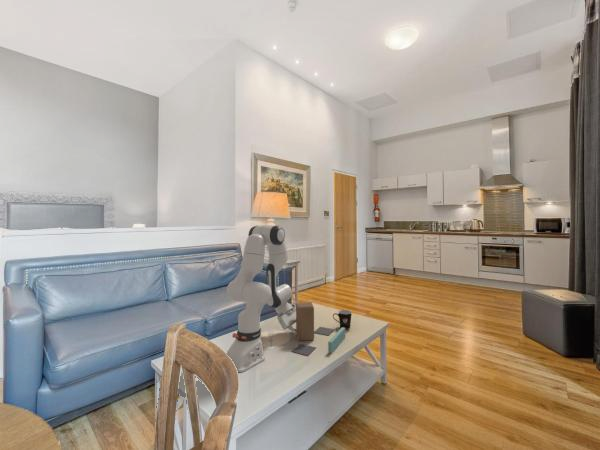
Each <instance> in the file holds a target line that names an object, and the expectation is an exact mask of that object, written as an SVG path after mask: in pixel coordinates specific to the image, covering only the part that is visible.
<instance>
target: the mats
mask: <svg viewBox="0 0 600 450" xmlns="http://www.w3.org/2000/svg"><path fill="white" fill-rule="evenodd" d="M334 331H335V329H334V328H330V327H325V326H323V327H322V326H319V327H318V328H317V329H315V330H314V334H317V335H323V336H327V337H328V336H329V337H330V335H331V334H332V333H333V332H334ZM316 349H317V347H316V346H311V345H308V344H302V343H299V344H298V345H297V346H296V347H294V348H293V349H292V350H291V352H290V353H295V354H298V355H303V356H306V357H309V356H310V355H311V354H312V353H313V352H314V351H315V350H316Z"/></svg>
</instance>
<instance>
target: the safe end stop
mask: <svg viewBox="0 0 600 450" xmlns="http://www.w3.org/2000/svg"><path fill="white" fill-rule="evenodd" d="M345 339H346V329H345V328H343V327H342V328H341V327H340V329H339V330H338V331H337V332H336V333H335V334H334V335H333V336H332V337H331V338H330V339H329V340H328V342H327V346H328V347H327V351H328V352H327V353H328V354H330V355H331V354H333V353H334V352H335V350H336V349H338V347H339V346H340V345H341V344H342V342H343V341H344V340H345ZM340 343H341V344H340Z"/></svg>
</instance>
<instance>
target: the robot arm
mask: <svg viewBox="0 0 600 450" xmlns="http://www.w3.org/2000/svg"><path fill="white" fill-rule="evenodd" d="M285 237H286V234H285V230H284V228H283V227H281V226H280V225H268V224H263V225H255V226H252V227H251V228H250V229H249V231H248V236H247V239H246V242H245V245H244V248H243V255H242V261H241V266H240V269H239V272H238V273H237V275H236V276H235V278H234V279H233V280H231V281H230V282H229V283H228V285H227V287H226V296H227V297H228V298H229V299H231V300H232V301H235V302H241V303H245V305H246V306H245V308H244V309H243V310H241V311H240V312H239V314H238V315H237V316H238V317H237V318H238V319H237V321H238V322H237V323H238V324H237V326H238V327H237V330H236V333H235V332H234V333H232V335H231V336H232V338H235V339H234V341H233V343H232V344H231V345H230V347H229V348H228V350H227V351H226V355H228V356H229V357H230V358H231V359H232V361H233V362H234V364H235V366H236V368H237V371H238V372H237V373H243V372H246V371H247V370H250V369H251V368H253V367H255V366H257V365H258V364H260V363H262V362H264V361H265V360H266V358H265V356H264V349H263V347H264V346H263V341H262V340H261V339H262V338H261V336H262V329H261V313H262V311H263V309H264V306H265V305H267V306H268V307H269V308H272V309H275V311H276V313H277V316H276V317H277V318H276V319H277V320H278V323H279V324H280V326H281V328H282V329H283V330H284V331H286V330H287V329H288V330H289V331H290V332H292V333H293V334H296V328H294V327H293V325H294V324H296V304H295V303H289V302H288V300H290V299H291V298H292V297H293V294H294V293H293V292H294V291H293V288H292V287H291V285H289V284H287V283H284V284H281V285H279V286H277V275H278V274H279V272H280V271H281V270H282V268H283V267H285V265H287V262H288V250H287V244H286V240H285ZM266 246H267V251H268V262H267V263H268V264H267V265H266V269H265V270H266V271H265V273H266V274H265V280H266V282H265V283H264V282H258V281H254V278H255V277H256V276H257V275H258V274H260V273H261V272H262V271H263V267H264V260H265V253H266V252H265V251H266Z"/></svg>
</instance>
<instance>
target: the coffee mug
mask: <svg viewBox="0 0 600 450" xmlns="http://www.w3.org/2000/svg"><path fill="white" fill-rule="evenodd" d="M337 312H338V313H337ZM337 312H336V313H333V315H332V317H333V319H334V321H336V322H338V323H339V326H340V329H341V328H342V327H343V328H345V330H349V329H350V328H351V322H352V321H351V320H352V311H351V310H350V309H340V310H338V311H337ZM335 315H337V316H338V320H337V319H336V318H335ZM348 328H349V329H348Z"/></svg>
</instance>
